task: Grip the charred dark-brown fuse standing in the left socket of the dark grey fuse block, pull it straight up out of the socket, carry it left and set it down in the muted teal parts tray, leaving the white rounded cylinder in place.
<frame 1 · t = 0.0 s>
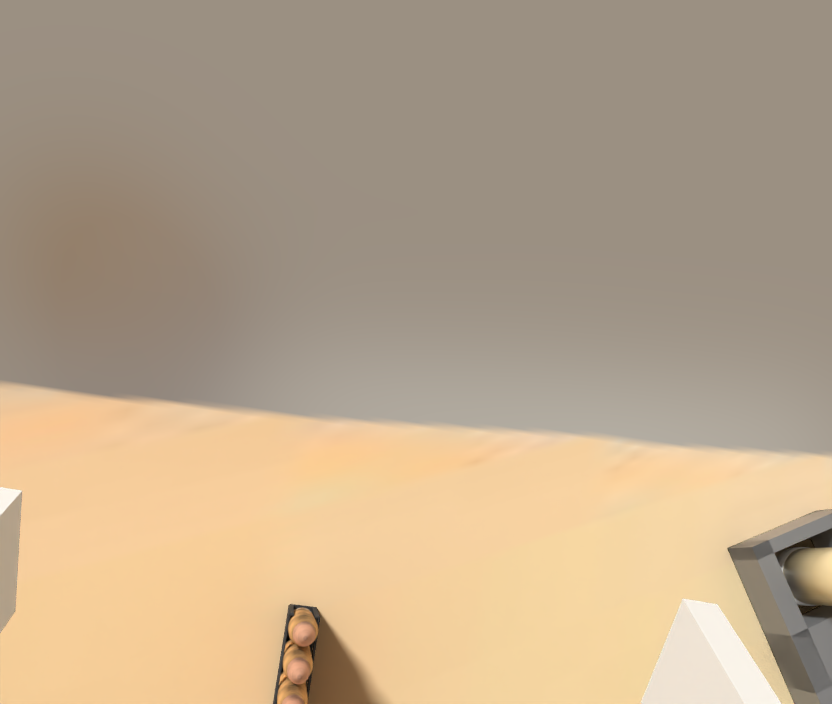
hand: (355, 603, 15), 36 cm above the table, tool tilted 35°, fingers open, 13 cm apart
fuse block: (821, 637, 54), on the table
white rounded cylinder: (793, 575, 54), resting in fuse block
ammunition clip: (289, 694, 47), on the table
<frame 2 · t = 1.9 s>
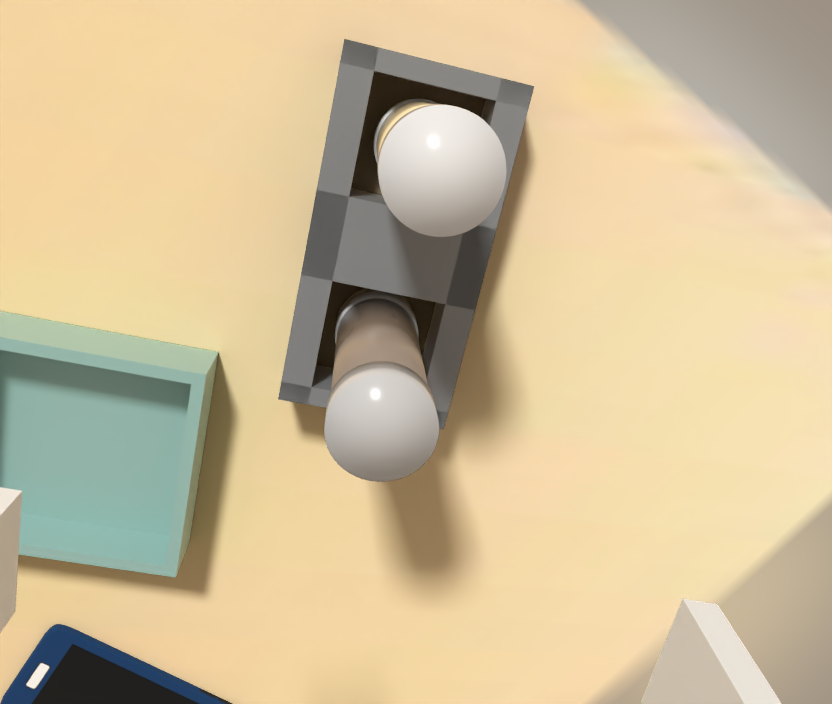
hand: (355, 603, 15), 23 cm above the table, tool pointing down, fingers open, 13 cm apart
fuse block: (395, 238, 36), on the table
white rounded cylinder: (416, 144, 35), resting in fuse block
parts tray: (92, 432, 38), on the table
blown fuse: (376, 326, 37), resting in fuse block
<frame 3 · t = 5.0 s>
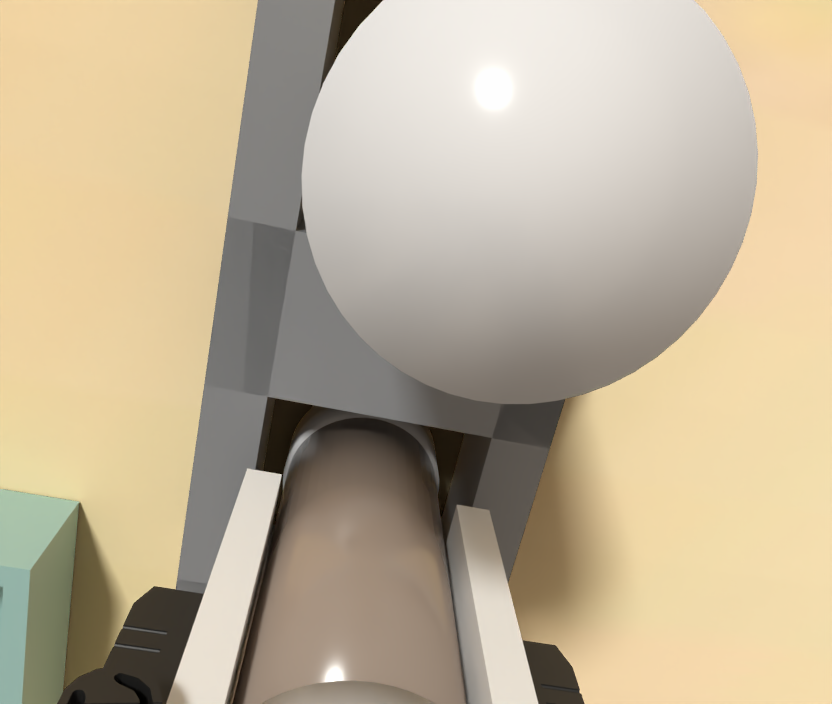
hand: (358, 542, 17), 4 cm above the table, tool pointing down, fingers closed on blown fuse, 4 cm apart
fuse block: (396, 302, 19), on the table
white rounded cylinder: (435, 123, 18), resting in fuse block
blown fuse: (362, 456, 21), resting in fuse block, touching gripper
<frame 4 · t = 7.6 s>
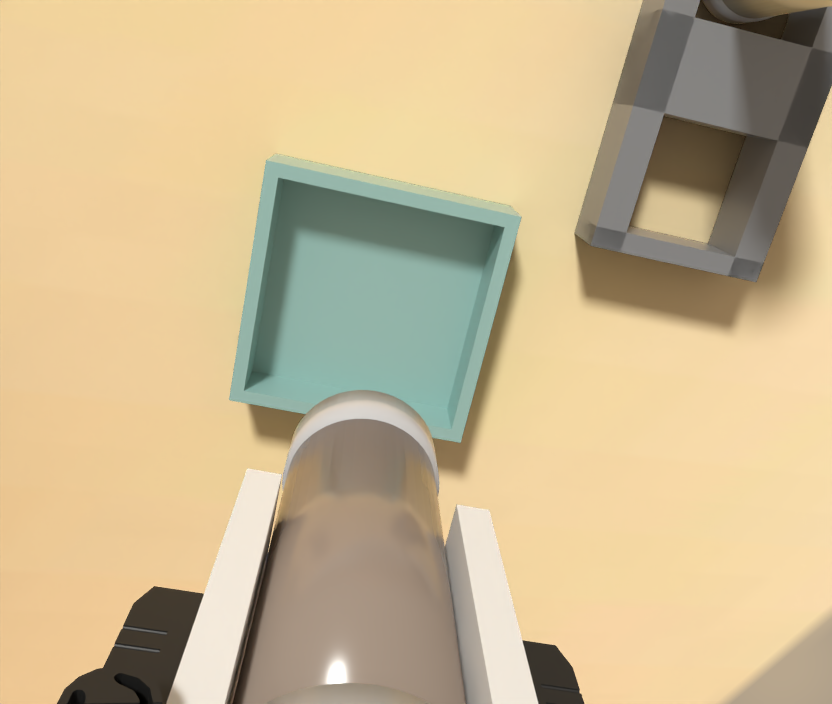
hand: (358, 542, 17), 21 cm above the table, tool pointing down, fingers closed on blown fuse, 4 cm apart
fuse block: (708, 80, 34), on the table
parts tray: (371, 293, 37), on the table
blown fuse: (362, 456, 21), point 17 cm above the table, touching gripper
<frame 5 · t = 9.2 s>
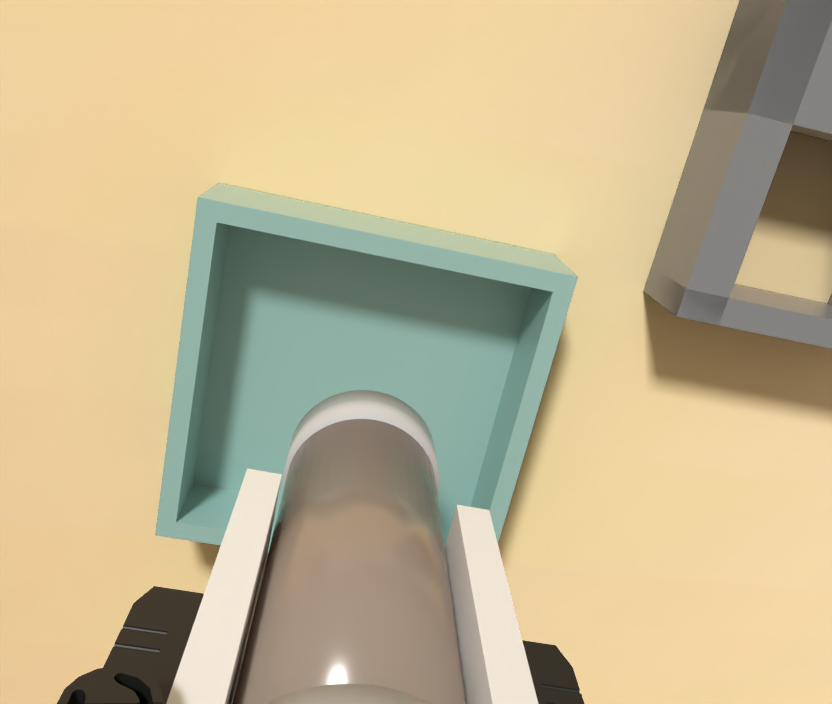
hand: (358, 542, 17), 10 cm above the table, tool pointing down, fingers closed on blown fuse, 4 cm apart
parts tray: (358, 375, 26), on the table
blown fuse: (362, 457, 21), point 6 cm above the table, touching gripper
when the fingers open (6 cm above the table, at t = 10.5 s): blown fuse drops 1 cm, resting on parts tray.
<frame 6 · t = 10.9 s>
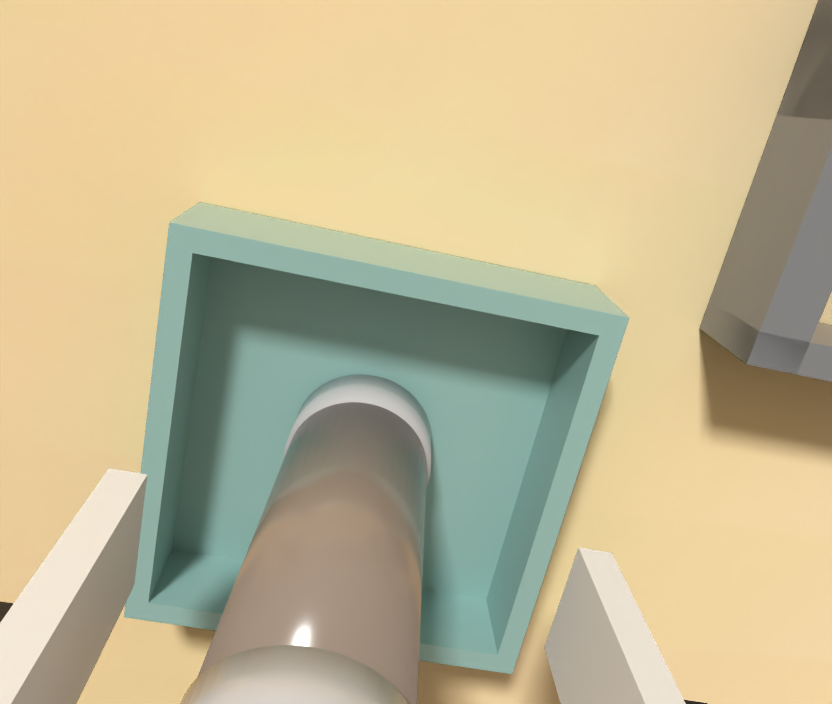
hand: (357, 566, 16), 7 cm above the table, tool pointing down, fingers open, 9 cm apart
parts tray: (364, 425, 23), on the table
blown fuse: (362, 437, 22), point 1 cm above the table, touching parts tray
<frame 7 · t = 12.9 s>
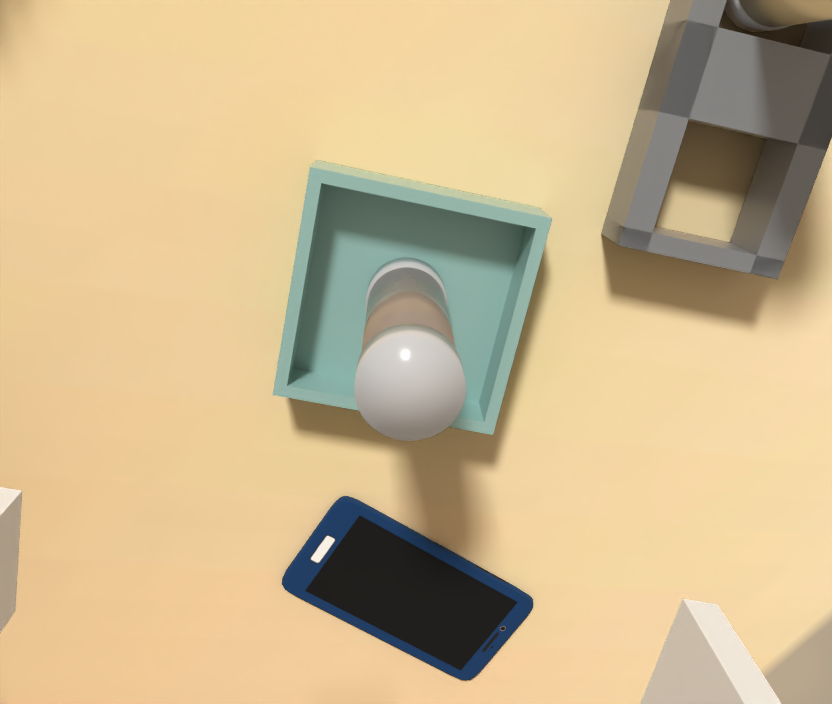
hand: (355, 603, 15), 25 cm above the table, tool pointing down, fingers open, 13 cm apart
fuse block: (730, 86, 36), on the table
cell phone: (409, 585, 45), on the table
parts tray: (406, 292, 39), on the table
blown fuse: (406, 296, 38), point 1 cm above the table, touching parts tray
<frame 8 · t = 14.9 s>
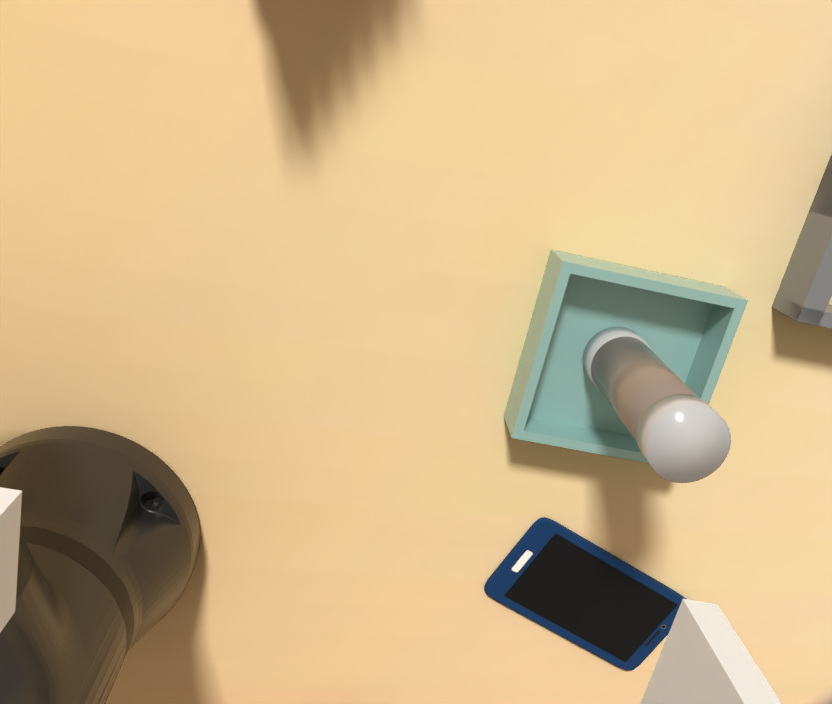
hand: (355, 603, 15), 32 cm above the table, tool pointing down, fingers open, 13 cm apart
cell phone: (586, 591, 54), on the table
parts tray: (611, 353, 47), on the table
blown fuse: (614, 356, 47), point 1 cm above the table, touching parts tray
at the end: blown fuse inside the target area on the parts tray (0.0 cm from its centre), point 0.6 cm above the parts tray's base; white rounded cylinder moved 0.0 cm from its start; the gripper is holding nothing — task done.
